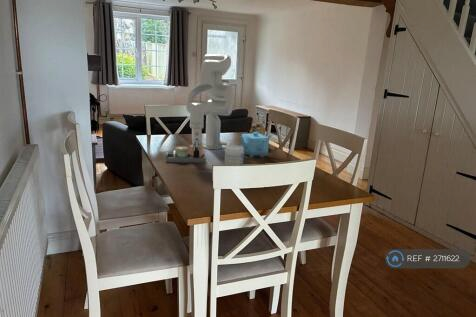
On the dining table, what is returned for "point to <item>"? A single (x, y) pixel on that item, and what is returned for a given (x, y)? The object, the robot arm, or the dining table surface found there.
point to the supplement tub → (234, 155)
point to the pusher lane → (171, 158)
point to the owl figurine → (257, 128)
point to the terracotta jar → (193, 151)
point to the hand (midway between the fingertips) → (196, 155)
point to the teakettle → (255, 144)
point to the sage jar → (181, 152)
